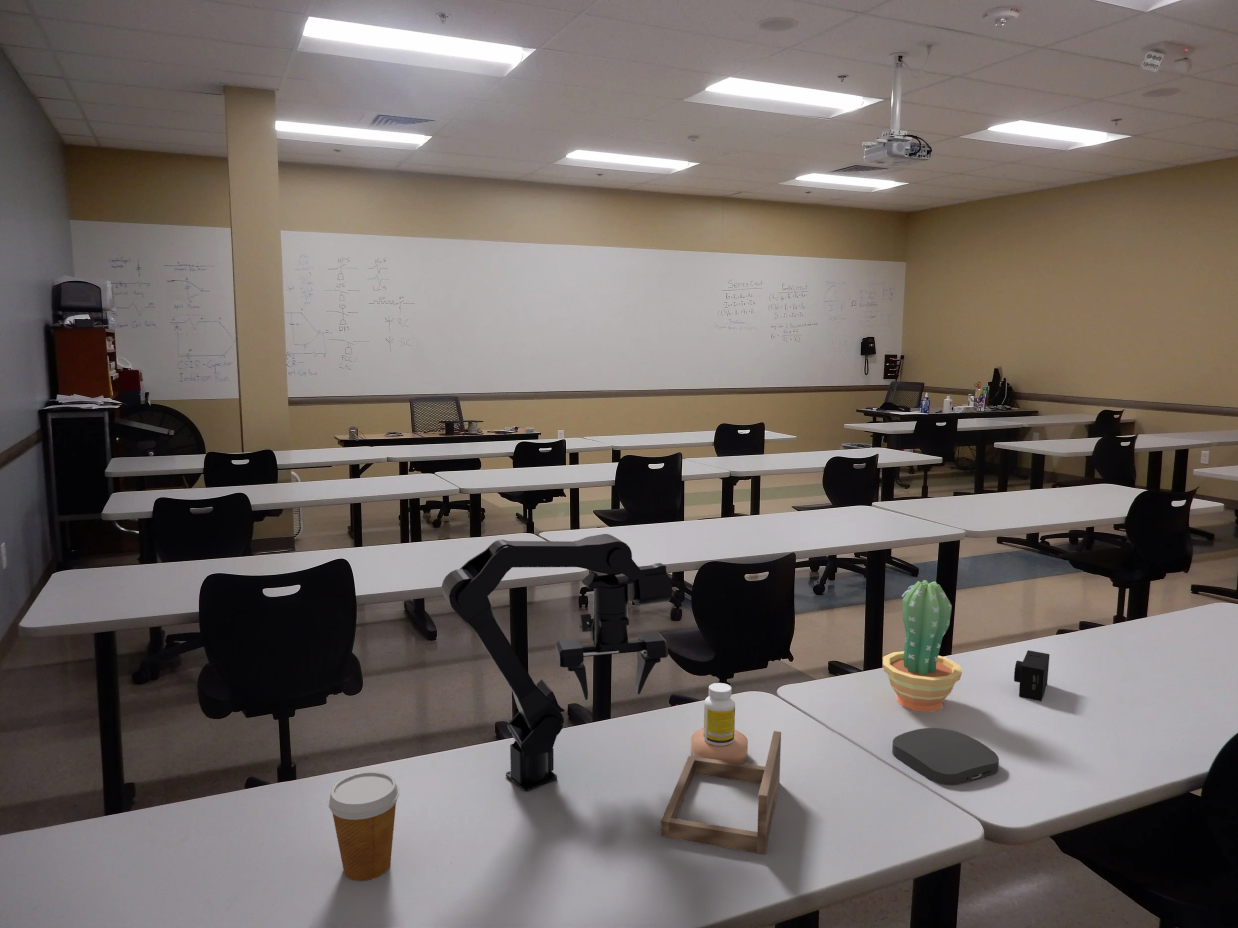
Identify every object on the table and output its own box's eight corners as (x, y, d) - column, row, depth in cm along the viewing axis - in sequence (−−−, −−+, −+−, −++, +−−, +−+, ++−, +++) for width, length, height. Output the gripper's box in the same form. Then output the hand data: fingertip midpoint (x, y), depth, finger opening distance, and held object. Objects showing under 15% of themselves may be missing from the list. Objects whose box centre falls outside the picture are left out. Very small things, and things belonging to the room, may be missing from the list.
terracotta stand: (719, 775, 142) (719, 759, 141) (679, 753, 149) (679, 737, 149) (759, 757, 148) (759, 741, 147) (718, 736, 156) (719, 721, 155)
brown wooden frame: (660, 836, 124) (661, 779, 123) (688, 769, 144) (689, 719, 142) (765, 854, 120) (767, 795, 119) (779, 782, 140) (781, 731, 138)
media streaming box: (882, 751, 151) (883, 735, 150) (944, 736, 157) (945, 721, 156) (943, 790, 138) (944, 773, 137) (1008, 773, 143) (1009, 756, 143)
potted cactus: (966, 697, 173) (974, 579, 169) (951, 725, 160) (959, 599, 156) (890, 680, 181) (896, 568, 177) (870, 706, 168) (876, 586, 165)
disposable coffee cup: (340, 848, 121) (336, 770, 120) (407, 844, 122) (404, 768, 120) (323, 890, 112) (318, 807, 110) (395, 887, 113) (392, 804, 111)
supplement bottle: (739, 744, 146) (741, 691, 145) (711, 749, 145) (712, 695, 143) (725, 730, 151) (727, 679, 150) (698, 735, 150) (699, 683, 148)
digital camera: (1019, 678, 182) (1021, 648, 181) (1047, 684, 180) (1049, 653, 178) (1012, 695, 174) (1014, 663, 173) (1041, 701, 171) (1044, 669, 170)
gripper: (651, 591, 152) (652, 672, 155) (549, 599, 148) (551, 682, 150) (669, 610, 141) (669, 697, 144) (559, 619, 137) (561, 709, 140)
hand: (612, 696), depth 145 cm, fingers open, 9 cm apart
